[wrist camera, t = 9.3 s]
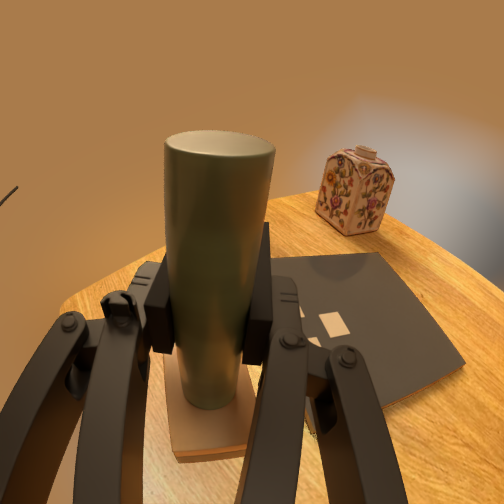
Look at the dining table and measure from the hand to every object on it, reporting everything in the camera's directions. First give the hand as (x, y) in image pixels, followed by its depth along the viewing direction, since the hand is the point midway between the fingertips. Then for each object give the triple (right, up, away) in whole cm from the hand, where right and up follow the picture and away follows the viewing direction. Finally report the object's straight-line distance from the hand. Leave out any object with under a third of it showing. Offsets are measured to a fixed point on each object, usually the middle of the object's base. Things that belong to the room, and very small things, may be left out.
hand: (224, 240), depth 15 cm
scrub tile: (+17, -10, +23) cm, 30 cm away
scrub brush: (-1, -10, 0) cm, 10 cm away
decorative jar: (+23, +6, +49) cm, 54 cm away
